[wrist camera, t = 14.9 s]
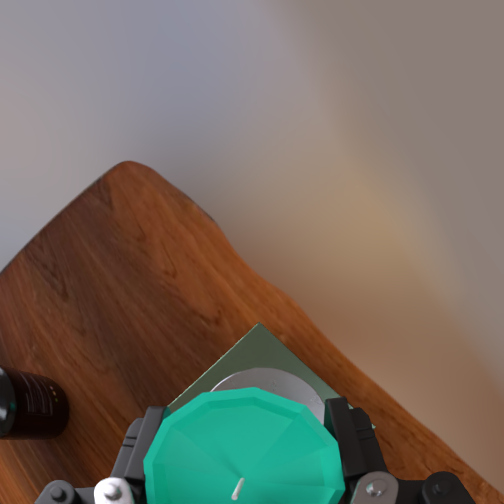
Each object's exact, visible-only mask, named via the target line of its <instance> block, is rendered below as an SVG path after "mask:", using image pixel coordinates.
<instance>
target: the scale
mask: <svg viewBox="0 0 504 504" xmlns="http://www.w3.org/2000/svg"><path fill="white" fill-rule="evenodd" d="M250 387H257V388H259V389H262V390H265V391H267V392H270V393H273V394H275V395H278V396H281V397H284V398H286V399H289V400H292V401H295V402H298V403H301V404H304V405H306V406H307V407H308V408H309V409H310V411H311V412H312V413H313V414H314V415H315V417H316V418H317V419H318V420H319V421H320V422H321V424H322V425H323V426H324V410H325V400H326V399H330V398H337V397H341V396H340V395H339V394H338V393H336V392H335V391H334V390H333V389H332V388H331V387H330V386H329V385H327V384H326V383H325V382H324V381H323V380H322V379H321V378H320V377H319V376H317V375H316V374H315V373H314V372H313V371H312V370H311V369H310V368H309V367H307V366H306V365H305V364H304V363H303V362H302V361H301V360H300V359H299V358H298V357H297V356H295V355H294V354H293V353H292V352H291V351H290V350H289V349H288V348H287V347H286V346H285V345H284V344H282V343H281V342H280V341H279V340H278V339H277V338H276V337H275V336H274V335H273V334H272V333H271V332H270V331H269V330H268V329H266V328H265V327H264V326H263V325H262V324H261V323H260V322H258V323H257V324H256V325H255V326H254V327H253V328H252V329H251V330H250V331H249V332H248V333H247V334H246V335H245V336H244V337H243V338H242V339H241V340H240V341H238V342H237V343H236V344H235V345H234V346H233V347H232V348H231V349H230V350H229V351H228V352H227V353H226V354H225V355H224V356H223V357H221V358H220V359H219V360H218V361H217V362H216V363H215V364H214V365H213V366H212V367H211V368H210V369H209V370H207V371H206V372H205V373H204V374H203V375H202V376H201V377H200V378H199V379H198V380H197V381H195V382H194V383H193V384H192V385H191V386H190V387H189V388H188V389H187V390H185V391H184V392H183V393H182V394H181V395H180V396H179V397H178V398H176V399H175V400H174V401H173V402H172V403H171V404H170V405H169V406H167V407H169V408H170V410H171V413H172V414H173V413H174V412H176V411H177V410H178V409H180V408H181V407H183V406H184V405H186V404H187V403H188V402H190V401H191V400H193V399H194V398H196V397H197V396H198V395H200V394H201V393H204V392H215V391H225V390H234V389H242V388H250ZM348 406H349V409H353V408H354V407H352V406H351V405H350V404H349V403H348ZM371 424H372V423H371ZM372 428H373V430H374V429H375V428H376V426H374V425H373V424H372Z"/></svg>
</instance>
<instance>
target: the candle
mask: <svg viewBox="0 0 504 504" xmlns="http://www.w3.org/2000/svg"><path fill="white" fill-rule="evenodd" d="M143 464H144V474H145V478H146V482H145V487H146V497H147V504H337V503H338V502H339V500H340V498H341V497H342V495H343V493H344V491H345V490H346V489H345V483H344V482H343V471H342V465H341V459H340V453H339V448H338V442H337V441H336V440H335V439H334V438H333V436H332V435H331V434H330V433H329V432H328V431H327V429H326V428H325V427H324V426H323V425H322V424H321V422H320V421H319V420H318V419H317V418H316V417H315V415H314V414H313V413H312V412H311V411H310V409H309V408H308V407H307V406H306V405H304V404H301V403H298V402H295V401H292V400H289V399H286V398H284V397H281V396H278V395H275V394H273V393H270V392H267V391H265V390H262V389H259V388H257V387H250V388H242V389H234V390H225V391H215V392H204V393H201V394H200V395H198V396H197V397H196V398H194V399H193V400H191V401H190V402H188V403H187V404H186V405H184V406H183V407H181V408H180V409H178V410H177V411H176V412H174V413H173V414H171V415H170V416H168V417H167V418H165V419H164V420H163V422H162V424H161V426H160V428H159V430H158V432H157V434H156V436H155V438H154V440H153V442H152V444H151V446H150V448H149V450H148V452H147V454H146V456H145V458H144V460H143Z"/></svg>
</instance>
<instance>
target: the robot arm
mask: <svg viewBox="0 0 504 504" xmlns="http://www.w3.org/2000/svg"><path fill="white" fill-rule="evenodd" d="M171 414H172V413H171V410H170V408H169V407H167V406H149V407H148V409H147V411H146V414H145V417H144V418H137V419H136V420H135V421H134V422H133V423H132V424H131V425H130V426H129V428H128V431H127V433H126V436H125V437H126V438H125V439H124V441H123V444H122V445H123V446H121V449H120V452H119V454H118V457H117V460H116V462H115V465H114V468H113V470H112V473H111V475H110V477H109V478H106V479H103V480H102V481H100V482H99V483H98V484H97V485H96V487H91V488H73V487H72V486H71V484H69V483H68V482H66V481H63V480H56V481H53V482H51V483H49V484H48V485H47V486H46V487H45V488H44V490H43V491H42V493H41V494H40V496H39V497H38V499H37V500H36V502H35V503H34V504H147V497H146V487H145V482H146V478H145V474H144V464H143V460H144V458H145V456H146V454H147V452H148V450H149V448H150V446H151V444H152V442H153V440H154V438H155V436H156V434H157V432H158V430H159V428H160V426H161V424H162V422H163V420H164V419H165V418H167V417H168V416H170V415H171ZM324 427H325V428H326V429H327V431H328V432H329V433H330V434H331V435H332V436H333V438H334V439H335V440H336V441H337V442H338V448H339V453H340V459H341V465H342V471H343V482H344V483H345V489H346V490H345V491H344V493H343V495H342V497H341V498H340V500H339V502H338V503H337V504H476V503H475V502H474V500H473V499H472V497H471V496H470V494H469V493H468V491H467V490H466V489H465V487H464V486H463V484H462V483H461V481H460V480H459V478H458V477H457V476H456V475H454V474H453V473H450V472H445V471H442V472H436V473H434V474H432V475H430V476H429V477H428V478H427V479H426V480H401V479H398V478H396V477H394V476H393V475H392V474H391V473H390V472H389V471H388V470H387V468H386V465H385V462H384V459H383V456H382V453H381V450H380V447H379V444H378V441H377V438H376V437H375V433H374V430H373V428H372V424H371V421H370V418H369V416H368V415H367V414H366V413H365V412H364V411H363V410H362V409H361V408H360V407H359V408H353V409H349V406H348V402H347V399H346V397H345V396H344V397H337V398H330V399H326V400H325V410H324Z"/></svg>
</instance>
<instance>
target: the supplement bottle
mask: <svg viewBox="0 0 504 504" xmlns="http://www.w3.org/2000/svg"><path fill="white" fill-rule="evenodd" d="M68 416H69V410H68V404H67V400H66V397H65V395H64V393H63V391H62V389H61V388H60V387H59V386H58V384H57V383H55V382H54V381H53V380H51V379H50V378H47V377H44V376H40V375H36V374H32V373H29V372H25V371H21V370H17V369H14V368H10V367H7V366H3V365H0V439H1V440H43V439H53V438H56V437H57V436H59V435H60V434H61V433H62V432H63V431H64V429H65V427H66V425H67V422H68Z"/></svg>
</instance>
